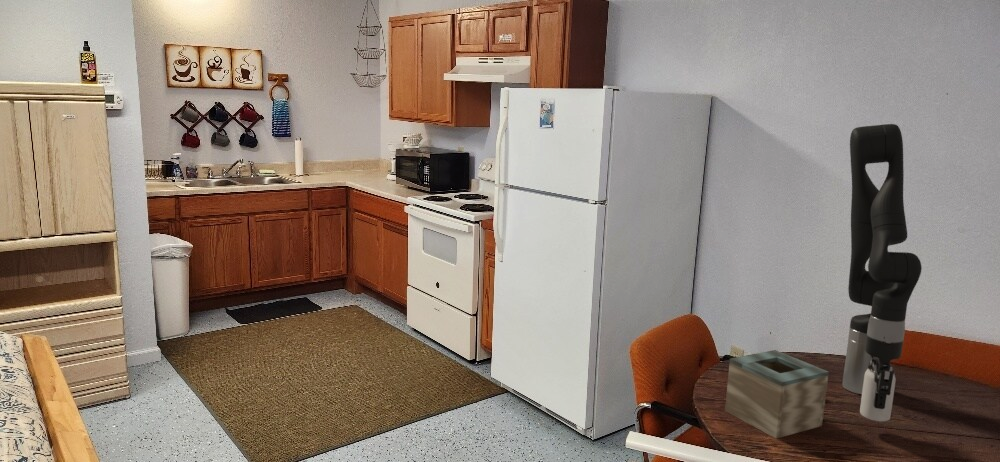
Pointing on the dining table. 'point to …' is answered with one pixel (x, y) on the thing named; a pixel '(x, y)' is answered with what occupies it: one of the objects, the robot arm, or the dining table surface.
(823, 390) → the drop box
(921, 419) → the dining table surface
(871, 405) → the can
